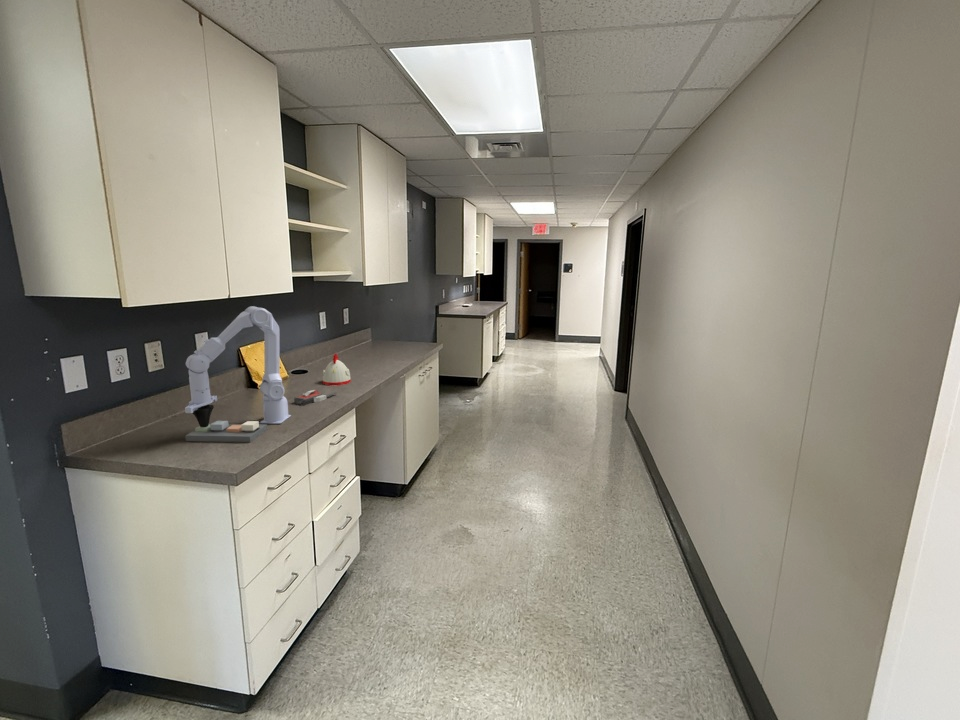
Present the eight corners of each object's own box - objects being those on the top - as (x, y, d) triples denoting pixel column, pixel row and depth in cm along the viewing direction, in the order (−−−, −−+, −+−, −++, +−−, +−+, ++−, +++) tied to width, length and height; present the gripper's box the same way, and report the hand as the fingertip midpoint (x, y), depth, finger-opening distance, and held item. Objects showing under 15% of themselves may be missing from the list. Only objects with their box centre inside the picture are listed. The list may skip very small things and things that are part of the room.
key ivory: (248, 429, 158) (247, 421, 158) (259, 429, 158) (258, 421, 157) (242, 433, 154) (241, 424, 154) (253, 433, 154) (252, 425, 154)
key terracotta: (233, 432, 158) (232, 424, 158) (244, 433, 158) (243, 425, 158) (227, 437, 155) (226, 428, 154) (238, 437, 154) (237, 429, 154)
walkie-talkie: (306, 407, 190) (338, 395, 208) (305, 397, 190) (338, 386, 207) (291, 404, 194) (324, 393, 212) (290, 394, 193) (323, 384, 211)
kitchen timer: (319, 385, 224) (318, 356, 222) (326, 379, 238) (324, 351, 235) (348, 385, 226) (346, 356, 223) (353, 379, 239) (351, 351, 236)
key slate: (217, 428, 158) (217, 420, 158) (229, 428, 158) (228, 420, 158) (211, 432, 154) (210, 424, 154) (222, 432, 154) (221, 424, 154)
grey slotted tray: (207, 428, 162) (207, 423, 162) (267, 429, 162) (267, 424, 162) (186, 441, 151) (185, 435, 150) (250, 442, 151) (250, 436, 150)
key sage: (203, 432, 159) (202, 424, 158) (214, 432, 159) (213, 424, 158) (196, 436, 155) (195, 428, 154) (207, 436, 155) (206, 428, 154)
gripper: (201, 383, 160) (205, 419, 163) (174, 394, 146) (179, 433, 149) (221, 384, 160) (224, 419, 163) (195, 394, 146) (200, 434, 149)
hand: (204, 426), depth 156 cm, fingers closed, pressing on key sage
